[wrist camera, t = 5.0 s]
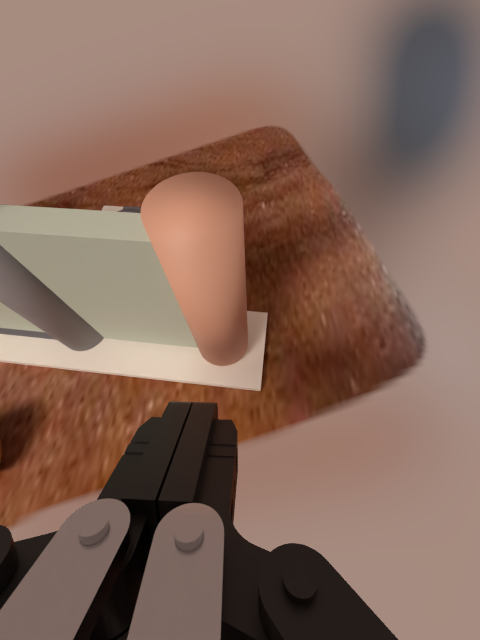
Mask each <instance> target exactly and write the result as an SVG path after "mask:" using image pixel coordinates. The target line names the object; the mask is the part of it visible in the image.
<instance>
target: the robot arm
mask: <svg viewBox="0 0 480 640" xmlns="http://www.w3.org/2000/svg"><path fill="white" fill-rule="evenodd" d="M237 455H238V448H237V430H236V428H235V425H234V423H233V421H232V420H220V419H218V406H217V403H204V402H194V403H193V402H169V403H168V405H167V407H166V409H165V411H164V413H163V415H162V417H161V418H160V417H151V418H150V419H149V420H148V421H146V422H145V423H144V424H143V425H142V426H140V427H139V428H138V430H137V432H136V433H135V435H134V437H133V439H132V440H131V443H130V444H129V445H128V447H127V449H126V451H125V454H124V455H123V456H122V458H121V459H120V461H119V463H118V464H117V466H116V468H115V470H114V471H113V473H112V475H111V476H110V478H109V480H108V482H107V483H106V485H105V487H104V488H103V490H102V492H101V494H100V495H99V497H98V499H97V500H96V501H93V502H90V503H88V504H86V505H84V506H82V507H81V508H79V509H78V510H76V511H75V512H74V513H73V514H72V515H70V517H69V518H68V519H67V520H66V521H65V522H64V523H63V525H62V526H61V527H60V529H59V530H58V531H55V532H52V533H49V534H45V535H41V536H37V537H33V538H29V539H25V540H21V541H17V542H14V541H13V538H12V535H11V532H10V531H9V529H7V528H6V527H5V526H2V525H0V640H398V639H397V638H396V637H395V636H394V634H392V633H391V631H390V630H389V629H388V628H387V627H386V626H385V625H384V623H383V622H382V621H381V620H380V619H379V618H378V617H377V616H376V614H374V612H373V611H372V610H371V609H370V608H369V607H368V606H367V604H366V603H365V602H364V601H363V600H362V599H361V598H360V597H359V595H358V594H357V593H356V592H355V591H354V590H353V589H352V588H351V587H350V585H349V584H348V583H347V582H346V581H345V580H344V579H343V578H342V577H341V575H340V574H339V573H338V572H337V571H336V570H335V569H334V568H333V567H332V565H331V564H330V563H329V562H328V561H327V560H326V559H325V558H324V557H323V556H322V555H321V554H320V553H318V552H317V551H315V550H314V549H312V548H310V547H308V546H305V545H302V544H295V543H290V544H284V545H281V546H279V547H277V548H275V549H274V550H272V551H271V552H269V551H267V550H265V549H262V548H260V547H258V546H256V545H254V544H251V543H250V542H248V541H247V540H245V539H244V538H243V537H242V536H241V535H240V534H239V533H238V532H237V530H236V529H235V527H234V525H233V520H234V508H235V497H236V484H237V473H238V456H237Z"/></svg>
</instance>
